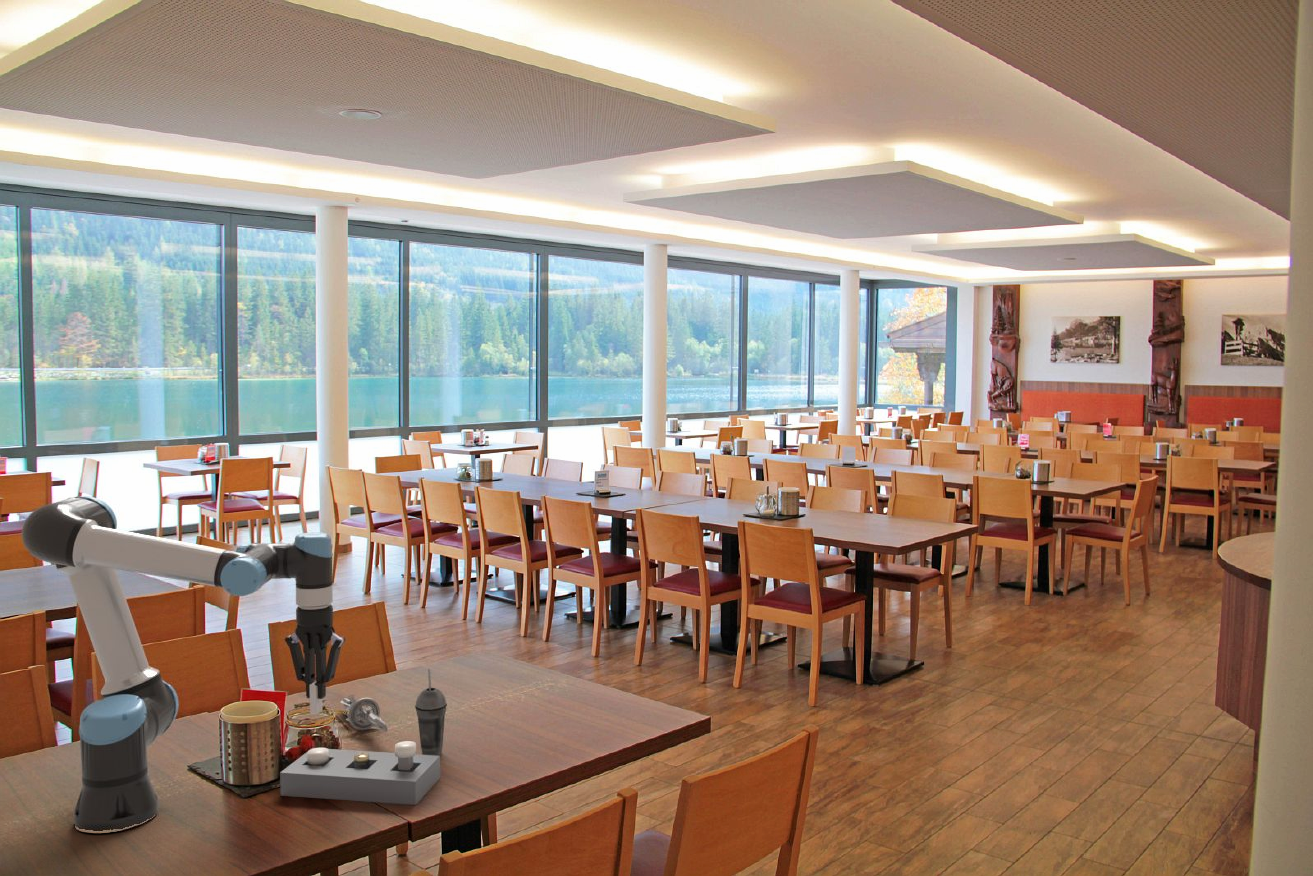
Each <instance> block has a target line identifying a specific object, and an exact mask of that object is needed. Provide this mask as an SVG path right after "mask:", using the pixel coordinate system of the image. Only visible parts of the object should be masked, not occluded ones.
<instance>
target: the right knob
mask: <svg viewBox="0 0 1313 876" xmlns="http://www.w3.org/2000/svg"><path fill="white" fill-rule="evenodd" d="M394 753H395V756H396V757H398V770H410V769H411V768H412V767H413V756H414V755H416V754H417V743H416V742H415V741H409V740H405V741H400V742H398V743H395V745H394Z"/></svg>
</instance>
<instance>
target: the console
mask: <svg viewBox="0 0 1313 876" xmlns="http://www.w3.org/2000/svg"><path fill="white" fill-rule="evenodd" d="M314 748H315V747H312V748H310V749H309V750H311V749H314ZM327 749H328V750H329V760H328V761H327V762H326V765H325V766H310V764H309V763H308V760H307V752H308V751H307V752H305V753H304V754H302V755H301V756H300V757H299V758H297V759H296V760H294V761H293V762H292V763H290V764H289V765H288V766H286V768H284V769H283V770H282V771H280V772H279V775H280V777H279V778H280V779H279V781H280V796H282V797H283V796H284V797H294V798H295V797H296V798H298V797H299V798H313V799H323V800H324V799H326V800H338V801H353V802H354V801H355V802H369V803H383V804H397V805H410V806H411V805H413V806H416V805H417V804H418V803H419V802H420V801H421V800H422V799H423V798H424V796H426V795H427V794H428V792H429V791H430V790H431V789H432V788H433V787H434V785H436V783H437V782H438V781H439V780H440V779H441V755H440V756H435V755H422V754H418V753H416V755H414V756H413V767H412V768H411V769H410V770H398V757H396V756H395V752H385V751H370V750H369V751H366V750H353V749H351V750H349V749H333V748H327ZM359 753H367V754H369V768H368V769H356V768H354V755H356V754H359Z"/></svg>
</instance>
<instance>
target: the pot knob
mask: <svg viewBox="0 0 1313 876" xmlns="http://www.w3.org/2000/svg"><path fill="white" fill-rule="evenodd" d="M354 768H356V769H368V768H369V754H367V753H359V754H356V755H354Z"/></svg>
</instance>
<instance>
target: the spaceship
mask: <svg viewBox="0 0 1313 876" xmlns="http://www.w3.org/2000/svg"><path fill="white" fill-rule="evenodd" d="M355 695H356V694H352V695H349V696H348V697H344V698H343V699H342V700H340V704H342V705H343V707H344V710H343V711H344V712H345V710H346V711H348V712H349V714H346V712H345V713H344V715H346V716H347V718H346V719H345V720H346V721H347V722H349V723H350V726H352V727H353V728H354V729H356V730H358V731H366V730H367V731H368V730H369V729H371V728H379V729H380V730H382V731H383V732H388V730H389V729H388V726H387V723H386V722H385V721H384V720H383V719H382V718H381V717H380V715H381V708H380V705H379V703H378V702H377V701H376V700H374V699H373V698H371V697H363V698H360V699H357V700H356V696H355ZM364 706H365V708H363V707H364ZM358 719H360V721H359V720H358Z"/></svg>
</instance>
